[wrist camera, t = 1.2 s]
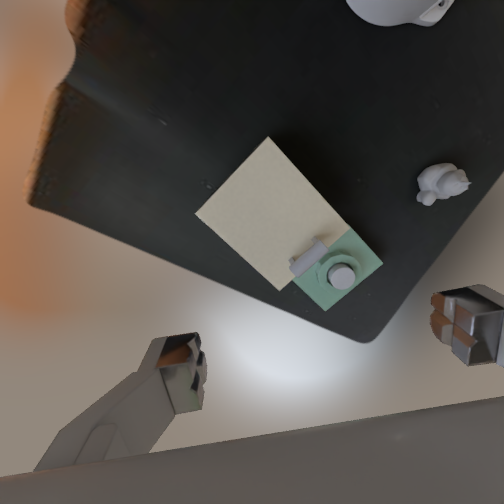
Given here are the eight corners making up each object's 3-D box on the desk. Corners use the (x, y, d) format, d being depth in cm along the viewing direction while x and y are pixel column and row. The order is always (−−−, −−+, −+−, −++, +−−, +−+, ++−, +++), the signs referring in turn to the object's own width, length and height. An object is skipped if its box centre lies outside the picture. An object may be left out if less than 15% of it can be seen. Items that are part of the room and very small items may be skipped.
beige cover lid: (348, 226, 36) (364, 237, 32) (278, 288, 39) (284, 307, 34) (267, 136, 32) (272, 133, 28) (195, 212, 35) (189, 221, 30)
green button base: (341, 219, 44) (353, 227, 39) (374, 256, 47) (389, 268, 42) (285, 269, 47) (291, 282, 42) (320, 301, 49) (328, 317, 44)
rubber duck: (453, 174, 43) (499, 179, 35) (423, 210, 44) (460, 221, 37) (429, 153, 41) (471, 153, 34) (398, 191, 43) (432, 198, 36)
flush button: (341, 258, 41) (345, 262, 40) (355, 273, 42) (360, 278, 41) (322, 274, 42) (326, 279, 41) (337, 289, 43) (341, 294, 41)
